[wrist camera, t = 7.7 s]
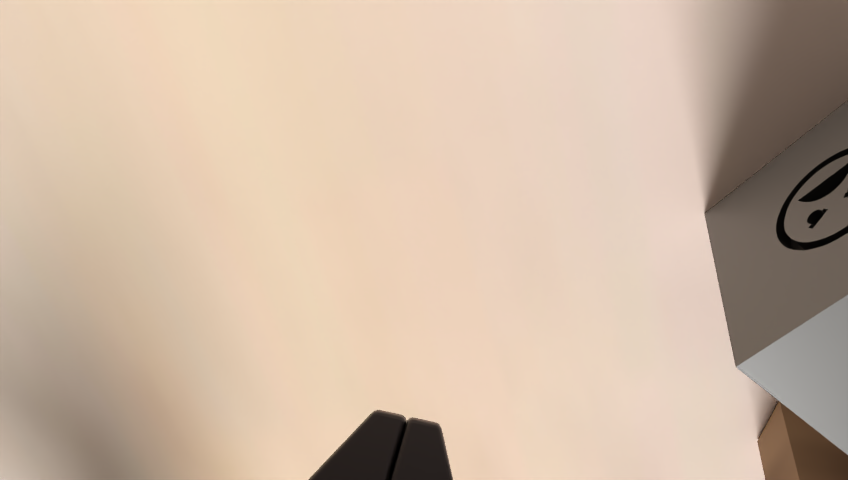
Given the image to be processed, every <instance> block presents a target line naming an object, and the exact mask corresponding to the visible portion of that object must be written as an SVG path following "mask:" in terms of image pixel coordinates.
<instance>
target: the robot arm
mask: <svg viewBox="0 0 848 480" xmlns="http://www.w3.org/2000/svg"><path fill="white" fill-rule="evenodd" d="M406 422H407V423H406ZM309 480H453V478H452V473H451V469H450V464H449V460H448V455H447V451H446V446H445V442H444V437H443V433H442V429H441V427H440V425H439V424H438V423H435V422H431V421H427V420H422V419H418V418H410V419H409V420H408V421H407V420H406V418H405V417H404V416H403V415H400V414H395V413H391V412H386V411H382V410H377V411H374V412H373V413H371V414H370V415H369V416H368V417H367V418H366V420H365V421H364V422H363V423H362V424H361V425H360V426H359V427H358V428H357V429H356V430H355V431H354V432H353V433H352V434H351V435H350V436H349V437H348V438H347V440H346V441H345V442H344V443H343V444H342V445H341V446H340V447H339V448H338V449H337V450H336V451H335V452H334V453H333V454H332V455H331V456H330V457H329V459H328V460H327V461H326V462H325V463H324V464H323V465H322V466H321V467H320V468H319V469H318V470H317V471H316V472H315V473H314V474H313V475H312V476H311V477H310V479H309Z"/></svg>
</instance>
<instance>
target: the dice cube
mask: <svg viewBox="0 0 848 480" xmlns="http://www.w3.org/2000/svg"><path fill="white" fill-rule="evenodd" d="M705 218H706V223H707V228H708V233H709V238H710V243H711V248H712V253H713V258H714V262H715V267H716V272H717V277H718V282H719V287H720V292H721V297H722V302H723V307H724V311H725V316H726V321H727V326H728V331H729V336H730V341H731V346H732V351H733V355H734V360H735V365H736V368H738V369H739V370H740V371H742V372H743V373H744V374H745V375H747V376H748V377H749V378H750V379H752V380H753V381H754V382H756V383H757V384H758V385H759V386H761V387H762V388H763V389H764V390H766V391H767V392H768V393H770V394H771V395H772V396H773V397H775V398H776V399H777V400H778V401H780V402H781V403H782V404H783V405H785V406H786V407H787V408H789V409H790V410H791V411H792V412H794V413H795V414H796V415H797V416H799V417H800V418H801V419H803V420H804V421H805V422H806V423H808V424H809V425H810V426H811V427H813V428H814V429H815V430H816V431H818V432H819V433H820V434H822V435H823V436H824V437H825V438H827V439H828V440H829V441H830V442H832V443H833V444H834V445H836V446H837V447H838V448H839V449H841V450H842V451H843V452H844V453H846V454H847V455H848V101H846V102H845V103H844V104H843V105H841V106H840V107H839V108H838V109H836V110H835V111H834V112H832V113H831V114H830V115H829V116H827V117H826V118H825V119H824V120H822V121H821V122H820V123H819V124H817V125H816V126H815V127H813V128H812V129H811V130H810V131H808V132H807V133H806V134H805V135H803V136H802V137H801V138H800V139H798V140H797V141H796V142H795V143H793V144H792V145H791V146H789V147H788V148H787V149H786V150H784V151H783V152H782V153H781V154H779V155H778V156H777V157H776V158H774V159H773V160H772V161H770V162H769V163H768V164H767V165H765V166H764V167H763V168H762V169H760V170H759V171H758V172H757V173H755V174H754V175H753V176H752V177H750V178H749V179H748V180H746V181H745V182H744V183H743V184H741V185H740V186H739V187H738V188H736V189H735V190H734V191H733V192H731V193H730V194H729V195H727V196H726V197H725V198H724V199H722V200H721V201H720V202H719V203H717V204H716V205H715V206H714V207H712V208H711V209H710V210H709V211H707V212H706V213H705Z"/></svg>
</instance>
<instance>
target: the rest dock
mask: <svg viewBox="0 0 848 480" xmlns="http://www.w3.org/2000/svg"><path fill="white" fill-rule="evenodd" d="M757 442H758V446H759V451H760V456H761V461H762V465H763V470H764V475H765V480H848V455H847V454H846V453H844V452H843V451H842V450H841V449H839V448H838V447H837V446H836V445H834V444H833V443H832V442H830V441H829V440H828V439H827V438H825V437H824V436H823V435H822V434H820V433H819V432H818V431H816V430H815V429H814V428H813V427H811V426H810V425H809V424H808V423H806V422H805V421H804V420H803V419H801V418H800V417H799V416H797V415H796V414H795V413H794V412H792V411H791V410H790V409H789V408H787V407H786V406H785V405H783V404H782V403H781V402H780V401H779V402H778V404H777V406H776V408H775V409H774V411H773V413H772V415H771V417H770V419H769V421H768V423H767V424H766V426H765V428H764V430H763V432H762V434H761V436H760V438H759V439H758V441H757Z"/></svg>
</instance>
